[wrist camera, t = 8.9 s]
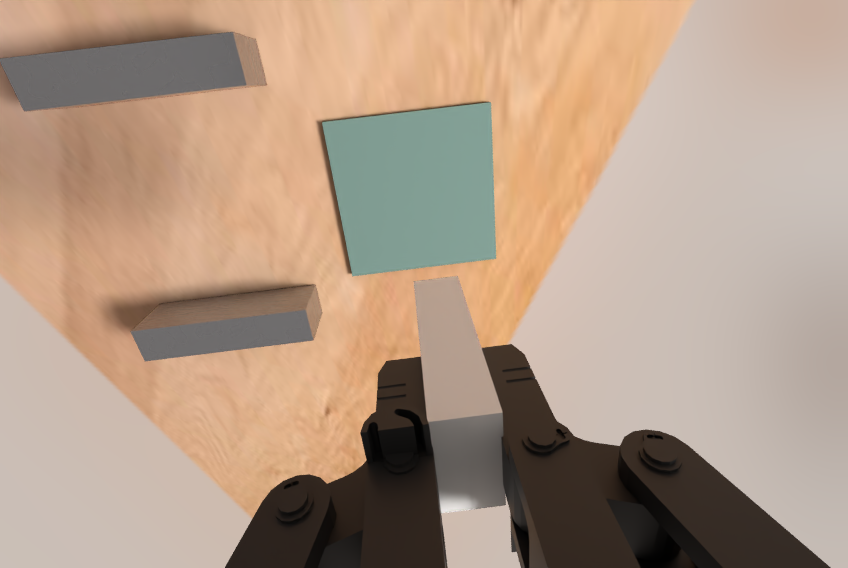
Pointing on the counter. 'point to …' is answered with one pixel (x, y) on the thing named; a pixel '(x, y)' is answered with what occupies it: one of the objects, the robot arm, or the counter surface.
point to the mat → (415, 187)
